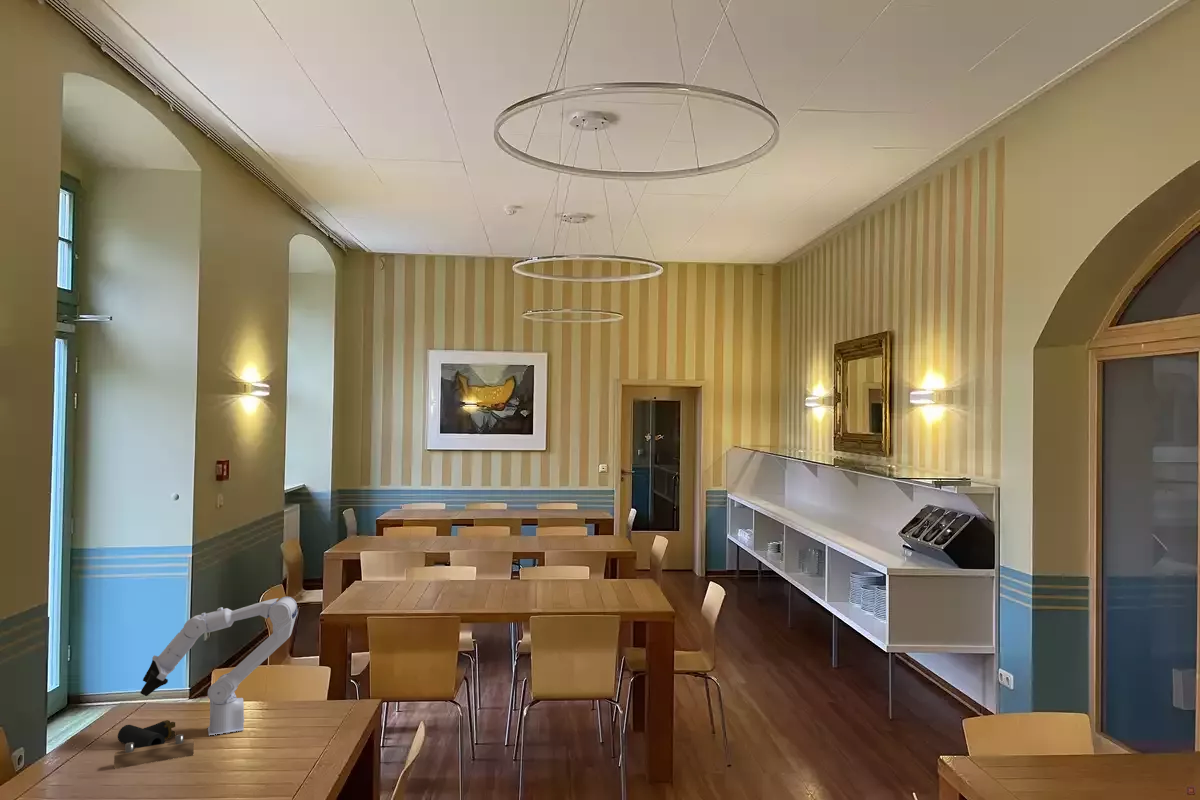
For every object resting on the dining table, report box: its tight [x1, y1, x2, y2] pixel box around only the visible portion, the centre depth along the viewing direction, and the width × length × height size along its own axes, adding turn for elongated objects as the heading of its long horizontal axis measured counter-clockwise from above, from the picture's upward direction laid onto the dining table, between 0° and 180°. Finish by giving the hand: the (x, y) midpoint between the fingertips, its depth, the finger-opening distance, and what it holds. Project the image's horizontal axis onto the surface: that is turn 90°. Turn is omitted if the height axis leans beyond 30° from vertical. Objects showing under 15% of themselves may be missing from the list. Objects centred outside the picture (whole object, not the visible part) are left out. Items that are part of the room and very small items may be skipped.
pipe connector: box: [117, 719, 176, 748], centre depth 236 cm, size 12×5×15 cm
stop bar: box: [113, 733, 195, 769], centre depth 224 cm, size 19×3×6 cm, turn 119°
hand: (144, 687), depth 243 cm, fingers open, 7 cm apart
